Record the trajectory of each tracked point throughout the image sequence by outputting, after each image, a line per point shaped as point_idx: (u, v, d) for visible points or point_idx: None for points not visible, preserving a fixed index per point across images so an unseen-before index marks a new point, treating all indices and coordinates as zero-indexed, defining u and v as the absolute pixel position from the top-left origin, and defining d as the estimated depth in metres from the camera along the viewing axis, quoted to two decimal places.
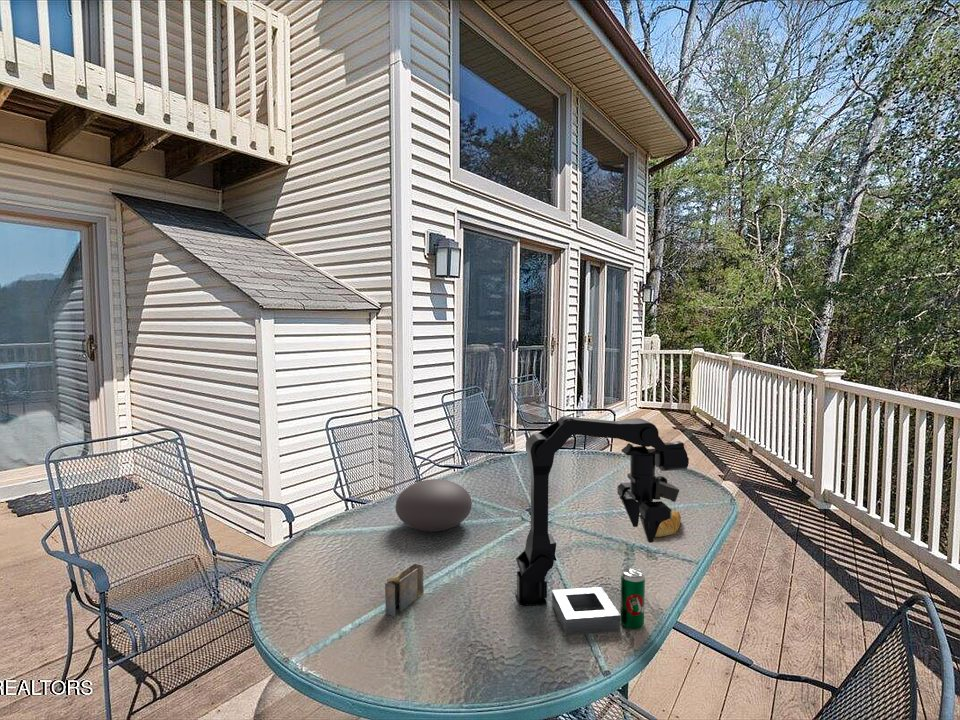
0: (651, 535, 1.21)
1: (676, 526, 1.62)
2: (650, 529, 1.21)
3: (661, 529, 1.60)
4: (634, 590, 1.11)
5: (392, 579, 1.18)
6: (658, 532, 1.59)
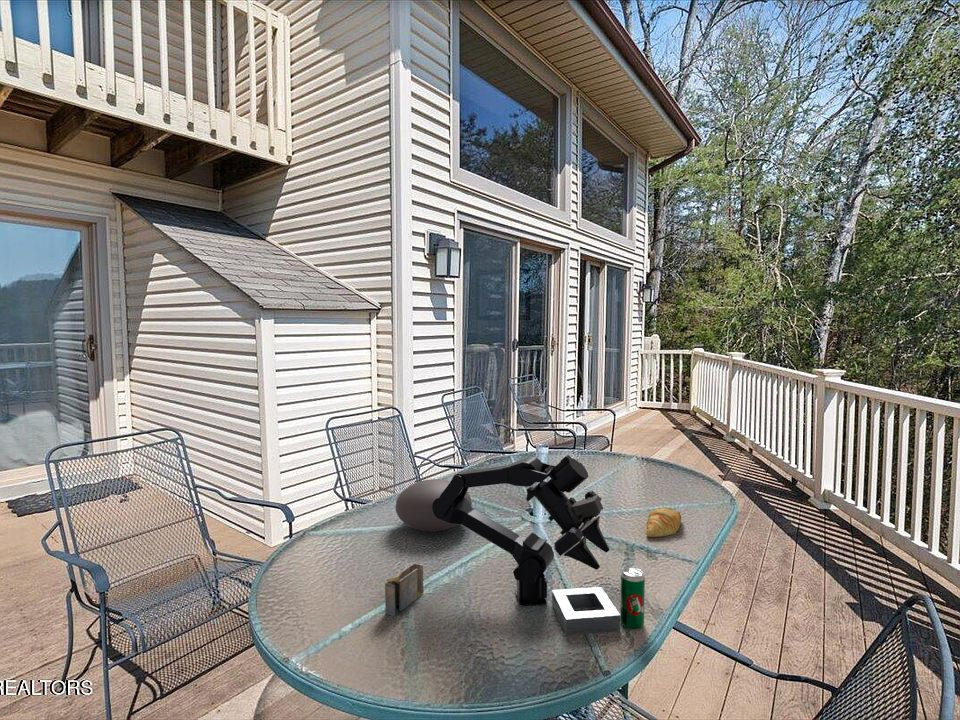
0: (591, 562, 1.12)
1: (676, 526, 1.62)
2: (583, 558, 1.12)
3: (661, 529, 1.60)
4: (634, 590, 1.11)
5: (392, 579, 1.18)
6: (658, 532, 1.59)
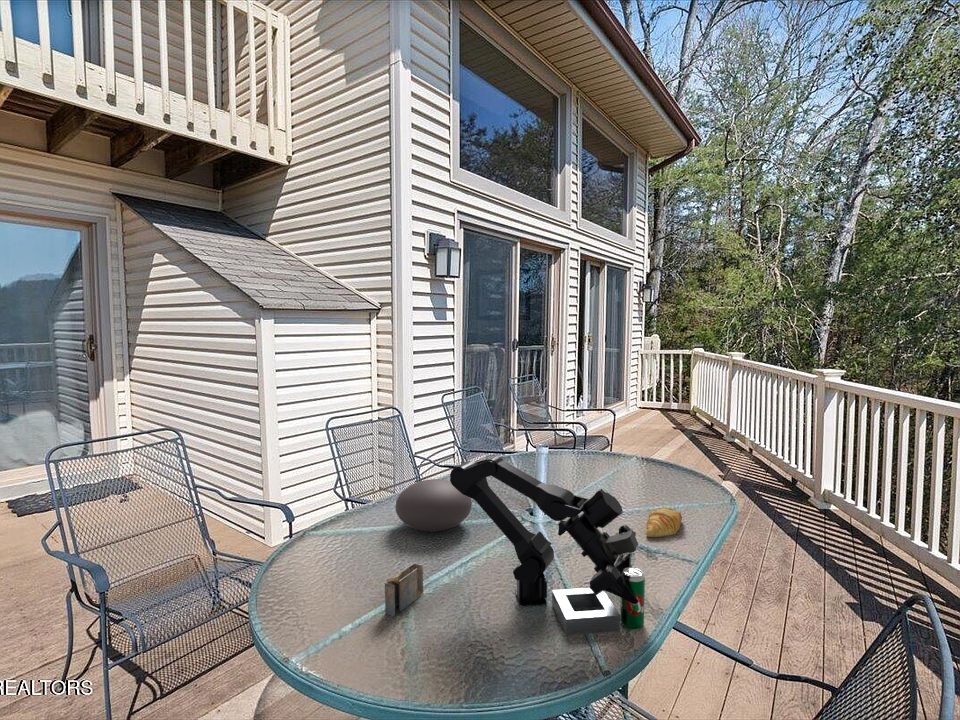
0: (629, 597, 1.11)
1: (676, 526, 1.62)
2: (621, 592, 1.11)
3: (661, 530, 1.60)
4: (634, 590, 1.11)
5: (392, 579, 1.18)
6: (658, 532, 1.59)
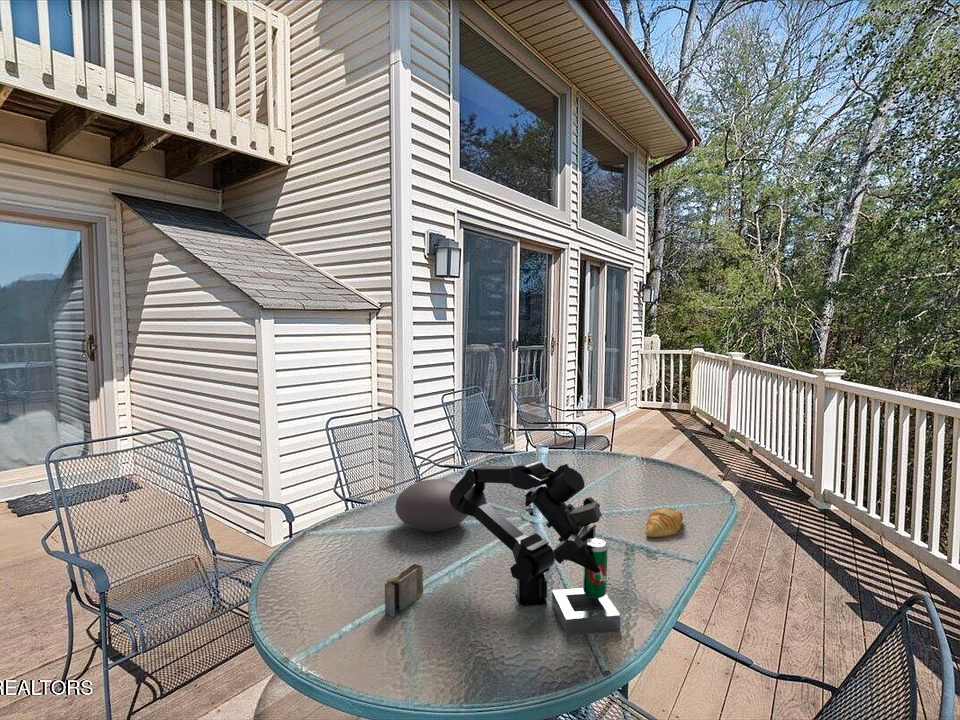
0: (592, 566, 1.13)
1: (676, 526, 1.62)
2: (584, 562, 1.13)
3: (661, 529, 1.59)
4: (597, 560, 1.14)
5: (392, 579, 1.18)
6: (658, 532, 1.59)
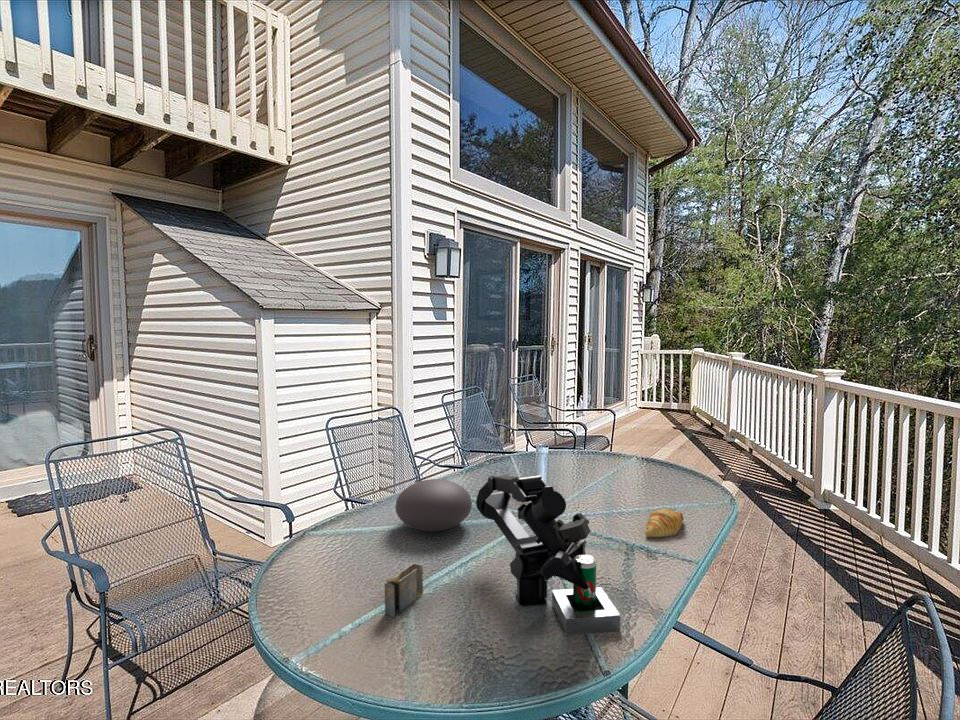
0: (580, 582, 1.14)
1: (677, 527, 1.61)
2: (572, 578, 1.14)
3: (661, 530, 1.59)
4: (585, 576, 1.14)
5: (391, 579, 1.18)
6: (657, 532, 1.59)
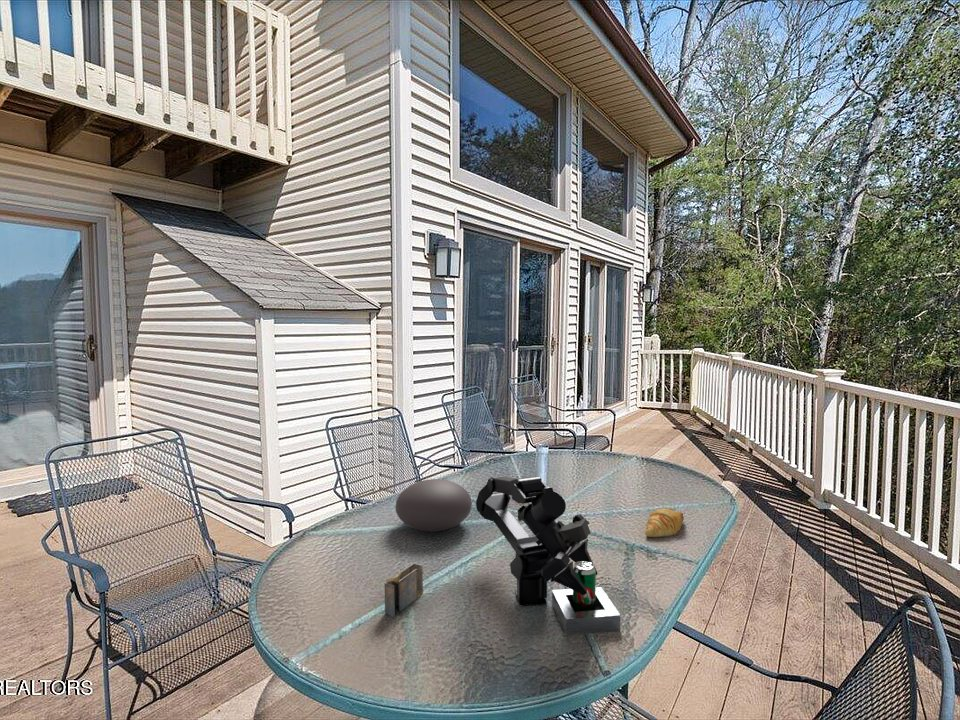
0: (578, 587, 1.12)
1: (677, 527, 1.61)
2: (570, 583, 1.12)
3: (661, 530, 1.59)
4: (585, 583, 1.15)
5: (391, 579, 1.18)
6: (657, 532, 1.59)
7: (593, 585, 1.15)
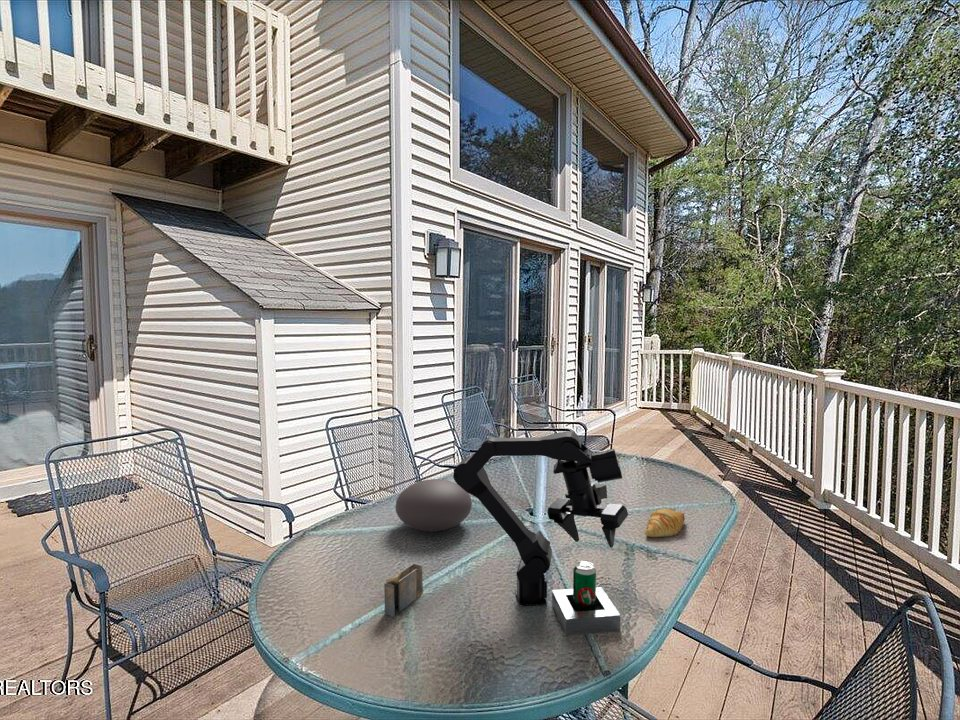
0: (612, 540, 1.20)
1: (677, 527, 1.61)
2: (612, 534, 1.19)
3: (661, 530, 1.59)
4: (585, 583, 1.15)
5: (391, 579, 1.18)
6: (657, 532, 1.59)
7: (593, 585, 1.15)
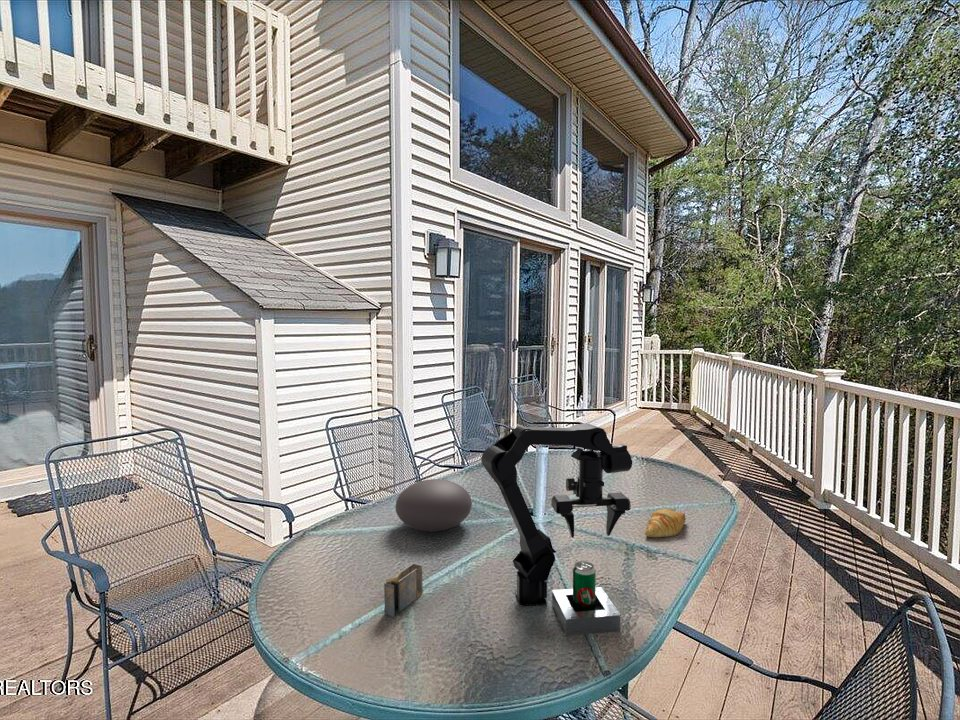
0: None
1: (677, 527, 1.61)
2: None
3: (661, 530, 1.59)
4: (585, 583, 1.14)
5: (391, 579, 1.18)
6: (657, 532, 1.59)
7: (593, 585, 1.15)
